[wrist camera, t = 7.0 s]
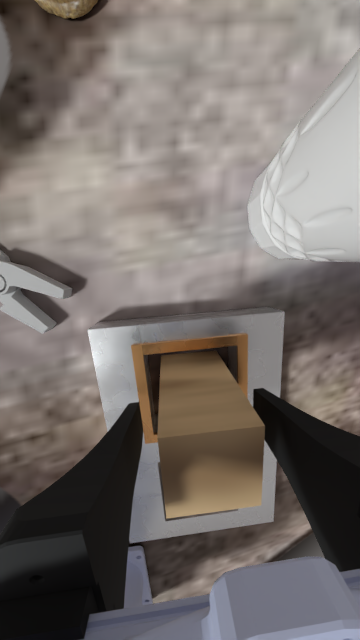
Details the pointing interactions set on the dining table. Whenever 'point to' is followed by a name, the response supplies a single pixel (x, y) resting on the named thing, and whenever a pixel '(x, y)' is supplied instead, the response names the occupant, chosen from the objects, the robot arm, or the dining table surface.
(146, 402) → the socket board
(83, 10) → the sprinkles bottle
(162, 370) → the peg
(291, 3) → the dining table surface
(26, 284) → the pliers
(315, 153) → the white cup
